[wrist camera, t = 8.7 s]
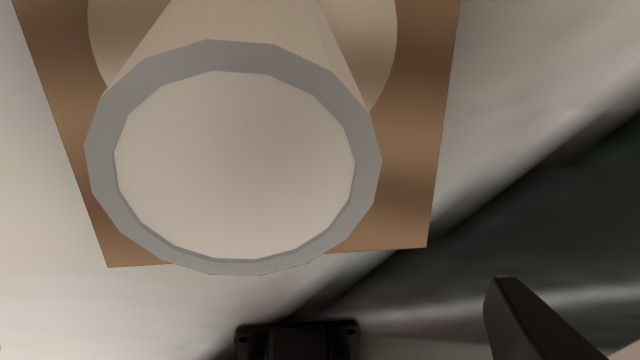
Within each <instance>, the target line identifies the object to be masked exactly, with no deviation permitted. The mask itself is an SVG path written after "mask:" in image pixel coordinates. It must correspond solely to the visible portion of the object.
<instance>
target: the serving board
mask: <svg viewBox="0 0 640 360" xmlns="http://www.w3.org/2000/svg"><path fill="white" fill-rule="evenodd" d="M170 1H171V0H12V3H13V6H14V9H15V11H16V14H17V17H18V20H19V23H20V25H21V28H22V31H23V34H24V36H25V39H26V42H27V45H28V47H29V50H30V53H31V56H32V59H33V61H34V64H35V67H36V70H37V72H38V75H39V78H40V81H41V84H42V86H43V89H44V92H45V95H46V97H47V100H48V103H49V106H50V108H51V111H52V114H53V117H54V120H55V122H56V125H57V128H58V131H59V133H60V136H61V139H62V142H63V145H64V147H65V150H66V153H67V156H68V158H69V161H70V164H71V167H72V169H73V172H74V175H75V178H76V181H77V183H78V186H79V189H80V192H81V194H82V197H83V200H84V203H85V206H86V208H87V211H88V214H89V217H90V219H91V222H92V225H93V228H94V230H95V233H96V236H97V239H98V242H99V244H100V247H101V250H102V253H103V255H104V258H105V261H106V264H107V267H108V268H113V267H128V266H144V265H159V264H173V263H170V262H167V261H163V260H161V259H159V258H158V257H156V256H155V255H153V254H152V253H150V252H149V251H147V250H146V249H144V248H143V247H141V246H140V245H138V244H137V243H136V242H134V241H133V240H131V239H130V238H128V237H127V236H125V235H124V234H122V233H121V232H120V231H119V230H118V229H117V227H116V226H115V224H114V223H113V222H112V220H111V219H110V217H109V216H108V215H107V213H106V212H105V210H104V209H103V208H102V206H101V205H100V203H99V202H98V201H97V199H96V198H95V196H94V195H93V194H92V191H91V185H90V180H89V174H88V169H87V163H86V157H85V152H84V146H83V145H84V142H85V139H86V137H87V134H88V131H89V128H90V125H91V122H92V120H93V117H94V114H95V111H96V108H97V105H98V103H99V100H100V97H101V96H102V94H103V93H104V92H105V90H106V89H107V88H108V86H109V85H110V84H111V82H112V81H113V79H114V78H115V77H116V75H117V74H118V73H119V71H120V70H121V68H122V67H123V66H124V64H125V63H126V62H127V60H128V59H129V58H130V56H131V55H132V53H133V52H134V51H135V49H136V48H137V47H138V45H139V44H140V42H141V41H142V40H143V38H144V37H145V36H146V34H147V33H148V32H149V30H150V29H151V27H152V26H153V25H154V23H155V22H156V21H157V19H158V18H159V16H160V15H161V14H162V12H163V11H164V10H165V8H166V7H167V6H168V4H169V3H170ZM314 1H315V2H316V3H317V5H318V6H319V7H320V8H321V9H322V11H323V13H324V15H325V17H326V19H327V21H328V24H329V26H330V28H331V30H332V32H333V34H334V37H335V39H336V41H337V43H338V45H339V48H340V50H341V52H342V54H343V56H344V59H345V61H346V63H347V65H348V67H349V69H350V72H351V74H352V76H353V78H354V80H355V83H356V85H357V87H358V89H359V91H360V94H361V96H362V98H363V100H364V102H365V104H366V107H367V109H368V111H369V113H370V117H371V120H372V124H373V127H374V131H375V135H376V138H377V142H378V146H379V149H380V153H381V156H382V160H383V161H382V165H381V170H380V174H379V179H378V184H377V188H376V193H375V198H374V202H373V205H372V206H371V207H370V209H369V210H368V211H367V213H366V214H365V215H364V217H363V218H362V219H361V220H360V222H359V223H358V224H357V226H356V227H355V228H354V230H353V231H352V232H351V234H350V235H349V236H348V238H347V239H346V240H344V241H343V242H341V243H339V244H338V245H336V246H335V247H333V248H331V249H330V250H328V251H326V252H325V253H323V254H330V253H346V252H361V251H377V250H392V249H408V248H423V247H426V245H427V237H428V230H429V223H430V216H431V208H432V201H433V194H434V187H435V179H436V172H437V165H438V158H439V150H440V143H441V136H442V129H443V121H444V114H445V107H446V100H447V92H448V85H449V78H450V70H451V63H452V56H453V49H454V41H455V34H456V27H457V20H458V12H459V5H460V0H314Z"/></svg>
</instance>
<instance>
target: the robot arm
mask: <svg viewBox="0 0 640 360" xmlns="http://www.w3.org/2000/svg"><path fill="white" fill-rule="evenodd" d="M483 316H484V321H485V325H486V330H487V334H488V338H489V342H490V347H491V351H492V355H493V359H494V360H609V359H608V358H607V357H605V356H604V355H603V354H602V353H601V352H600V351H599V350H598V349H596V348H595V347H594V346H593V345H592V344H591V343H590V342H589V341H587V340H586V339H585V338H584V337H583V336H582V335H581V334H580V333H579V332H577V331H576V330H575V329H574V328H573V327H572V326H571V325H570V324H568V323H567V322H566V321H565V320H564V319H563V318H562V317H561V316H559V315H558V314H557V313H556V312H555V311H554V310H553V309H552V308H550V307H549V306H548V305H547V304H546V303H545V302H544V301H543V300H542V299H540V298H539V297H538V296H537V295H536V294H535V293H534V292H533V291H531V290H530V289H529V288H528V287H527V286H526V285H525V284H524V283H522V282H521V281H520V280H519V279H518V278H517V277H515V276H513V275H503V276H493V277H492V278H491V279H490V281H489V284H488V288H487V292H486V296H485V300H484V304H483ZM234 342H235V348H236V353H237V359H238V360H359V345H360V328H359V323H358V322H357V321H355V320H340V321H326V322H312V323H297V324H283V325H269V326H255V327H242V328H239V329H237V330H236V331H235V334H234Z"/></svg>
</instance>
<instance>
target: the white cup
mask: <svg viewBox="0 0 640 360" xmlns="http://www.w3.org/2000/svg"><path fill="white" fill-rule="evenodd" d="M83 146H84V152H85V157H86V163H87V169H88V174H89V180H90V185H91V191H92V194H93V195H94V196H95V198H96V199H97V201H98V202H99V203H100V205H101V206H102V208H103V209H104V210H105V212H106V213H107V215H108V216H109V217H110V219H111V220H112V222H113V223H114V224H115V226H116V227H117V229H118V230H119V231H120V232H121V233H122V234H124V235H125V236H127V237H128V238H130V239H131V240H133V241H134V242H136V243H137V244H138V245H140V246H141V247H143V248H144V249H146V250H147V251H149V252H150V253H152V254H153V255H155V256H156V257H158V258H159V259H161V260H163V261H167V262H170V263H173V264H177V265H180V266H183V267H186V268H190V269H193V270H196V271H200V272H203V273H206V274H209V275H248V276H261V275H265V274H269V273H272V272H276V271H280V270H284V269H288V268H292V267H296V266H300V265H304V264H307V263H309V262H310V261H312V260H314V259H315V258H317V257H318V256H320V255H322V254H323V253H325V252H326V251H328V250H330V249H331V248H333V247H335V246H336V245H338V244H339V243H341V242H343V241H344V240H346V239H347V238H348V236H349V235H350V234H351V232H352V231H353V230H354V228H355V227H356V226H357V224H358V223H359V222H360V220H361V219H362V218H363V217H364V215H365V214H366V213H367V211H368V210H369V209H370V207H371V206H372V205H373V202H374V198H375V193H376V188H377V184H378V179H379V174H380V170H381V165H382V161H383V160H382V156H381V153H380V149H379V146H378V142H377V138H376V135H375V131H374V127H373V124H372V120H371V117H370V113H369V111H368V109H367V107H366V104H365V102H364V100H363V98H362V96H361V94H360V91H359V89H358V87H357V85H356V83H355V80H354V78H353V76H352V74H351V72H350V69H349V67H348V65H347V63H346V61H345V59H344V56H343V54H342V52H341V50H340V48H339V45H338V43H337V41H336V39H335V37H334V34H333V32H332V30H331V28H330V26H329V24H328V21H327V19H326V17H325V15H324V13H323V11H322V9H321V8H320V7H319V6H318V5H317V3H316V2H315V1H314V0H171V1H170V3H169V4H168V6H167V7H166V8H165V10H164V11H163V12H162V14H161V15H160V16H159V18H158V19H157V21H156V22H155V23H154V25H153V26H152V27H151V29H150V30H149V32H148V33H147V34H146V36H145V37H144V38H143V40H142V41H141V42H140V44H139V45H138V47H137V48H136V49H135V51H134V52H133V53H132V55H131V56H130V58H129V59H128V60H127V62H126V63H125V64H124V66H123V67H122V68H121V70H120V71H119V73H118V74H117V75H116V77H115V78H114V79H113V81H112V82H111V84H110V85H109V86H108V88H107V89H106V90H105V92H104V93H103V94H102V96H101V97H100V100H99V103H98V105H97V108H96V111H95V114H94V117H93V120H92V122H91V125H90V128H89V131H88V134H87V137H86V139H85V142H84V145H83Z"/></svg>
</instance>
